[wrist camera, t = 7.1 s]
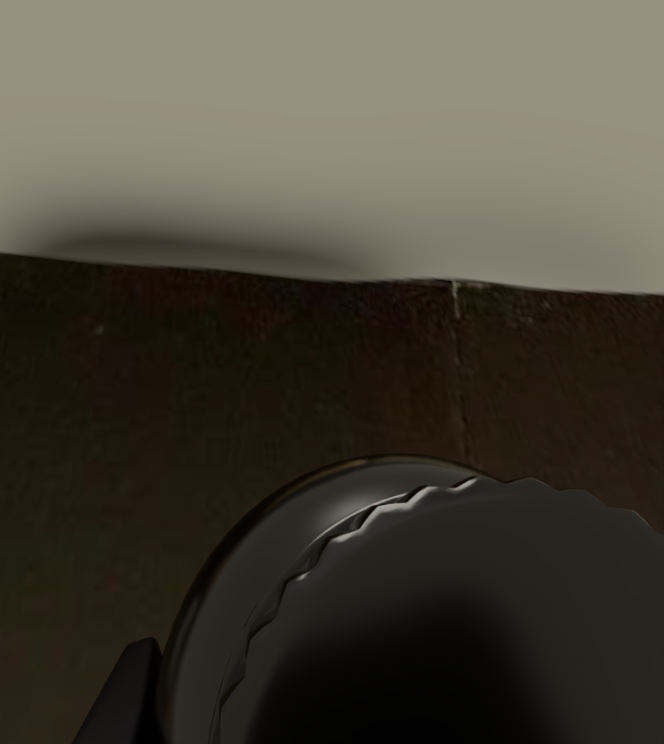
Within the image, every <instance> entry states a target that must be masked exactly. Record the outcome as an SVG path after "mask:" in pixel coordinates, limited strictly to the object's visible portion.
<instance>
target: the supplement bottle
mask: <svg viewBox="0 0 664 744" xmlns="http://www.w3.org/2000/svg"><path fill="white" fill-rule="evenodd" d="M151 744H664V535H662V534H658V533H657V532H656V531H654V530H653V529H652V528H651V527H650V526H649V524H648V523H647V522H646V521H645V520H644V519H643V518H642V517H641V516H640V515H638V514H637V513H636V512H635V511H633V510H628V509H623V508H612V507H607V506H606V505H605V504H604V503H602V502H601V501H600V500H599V499H597V498H596V497H595V496H593V495H592V494H590V493H588V492H587V491H585V490H584V489H577V488H575V489H559V490H555V489H553V488H551V487H549V486H548V485H546V484H545V483H543V482H541V481H539V480H536V479H534V478H532V477H521V478H517V479H513V480H510V481H507V482H505V481H503V480H501V479H499V478H497V477H495V476H493V475H491V474H489V473H487V472H485V471H482V470H479V469H477V468H474V467H472V466H469V465H466V464H463V463H459V462H456V461H452V460H448V459H444V458H439V457H433V456H427V455H417V454H404V453H395V454H376V455H367V456H360V457H355V458H351V459H346V460H342V461H338V462H335V463H332V464H329V465H326V466H323V467H320V468H318V469H316V470H313V471H311V472H309V473H307V474H304V475H302V476H300V477H298V478H296V479H295V480H293V481H291V482H289V483H288V484H286V485H284V486H282V487H280V488H279V489H278V490H276V491H275V492H273V493H272V494H271V495H269V496H268V497H266V498H265V499H263V500H262V501H261V502H260V503H258V504H257V505H256V506H255V507H254V508H253V509H251V510H250V511H249V512H248V513H247V514H246V515H244V516H243V517H242V518H241V519H240V521H239V522H238V523H237V524H236V525H235V526H234V527H233V528H232V529H231V530H230V531H229V532H228V533H227V534H226V535H225V537H224V538H223V539H222V540H221V542H220V543H219V544H218V545H217V547H216V548H215V549H214V550H213V552H212V553H211V554H210V556H209V557H208V559H207V560H206V562H205V563H204V565H203V566H202V568H201V569H200V571H199V572H198V574H197V576H196V577H195V579H194V581H193V583H192V585H191V587H190V588H189V590H188V592H187V594H186V596H185V598H184V600H183V602H182V604H181V607H180V609H179V611H178V614H177V616H176V618H175V621H174V623H173V626H172V629H171V632H170V635H169V638H168V641H167V644H166V647H165V650H164V653H163V658H162V662H161V666H160V670H159V674H158V678H157V684H156V691H155V697H154V704H153V712H152V726H151Z"/></svg>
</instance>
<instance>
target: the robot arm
mask: <svg viewBox="0 0 664 744" xmlns="http://www.w3.org/2000/svg"><path fill="white" fill-rule="evenodd" d="M162 658H163V656H162V653H161V651H160V648H159V645H158V643H157V641H156V639H155V638H153V637H149V638H145V639H142V640H139V641H136V642H132V643H130V644H128V645H127V646H126V647H125V649H124V651H123V652H122V654H121V656H120V658H119V660H118V661H117V663H116V665H115V667H114V669H113V670H112V672H111V674H110V676H109V677H108V679H107V681H106V683H105V685H104V686H103V688H102V690H101V692H100V694H99V695H98V697H97V699H96V701H95V703H94V704H93V706H92V708H91V710H90V712H89V713H88V715H87V717H86V719H85V720H84V722H83V724H82V726H81V728H80V729H79V731H78V733H77V735H76V737H75V738H74V740H73V742H72V744H151V726H152V712H153V704H154V697H155V691H156V684H157V678H158V674H159V670H160V666H161V662H162Z"/></svg>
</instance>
